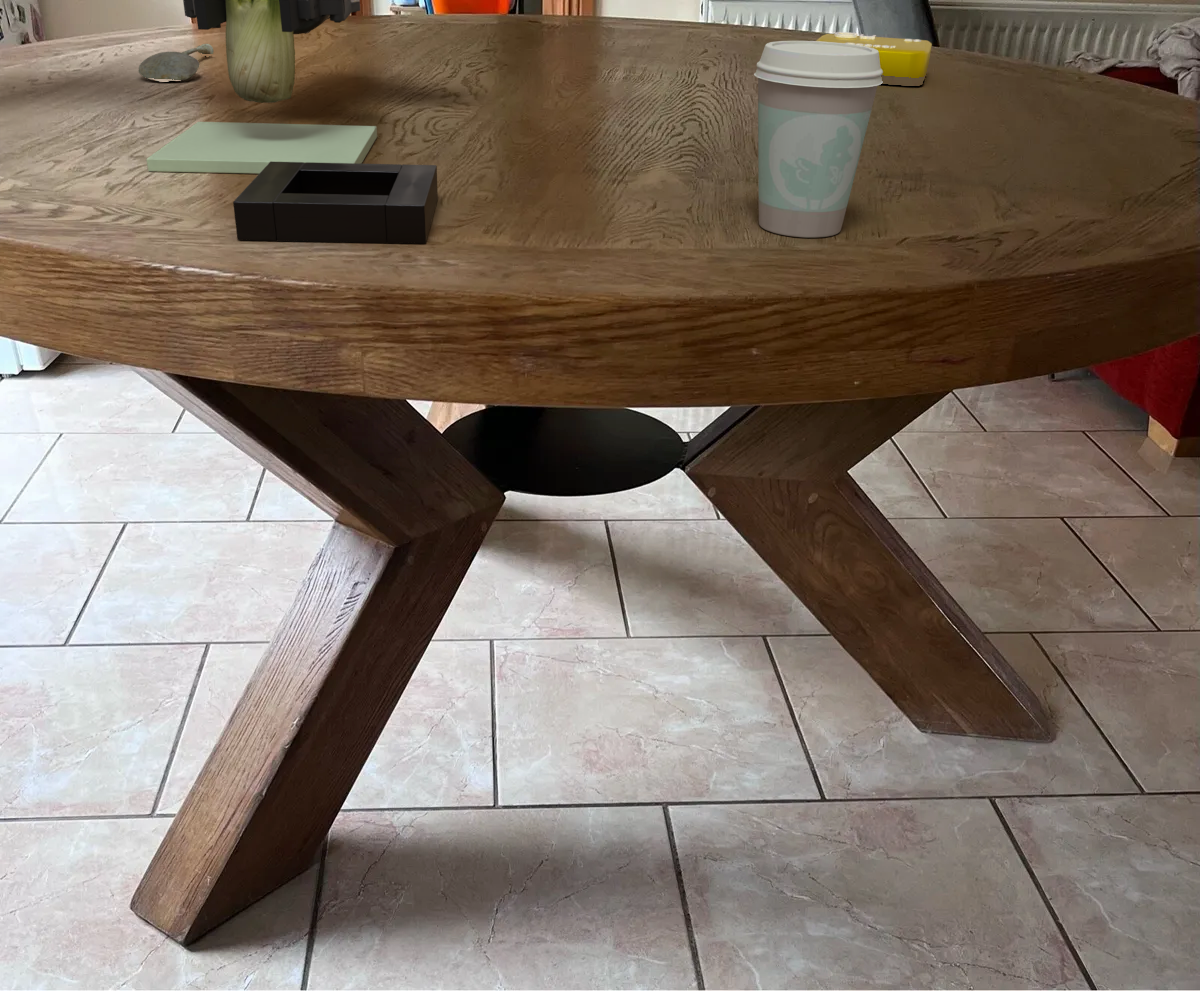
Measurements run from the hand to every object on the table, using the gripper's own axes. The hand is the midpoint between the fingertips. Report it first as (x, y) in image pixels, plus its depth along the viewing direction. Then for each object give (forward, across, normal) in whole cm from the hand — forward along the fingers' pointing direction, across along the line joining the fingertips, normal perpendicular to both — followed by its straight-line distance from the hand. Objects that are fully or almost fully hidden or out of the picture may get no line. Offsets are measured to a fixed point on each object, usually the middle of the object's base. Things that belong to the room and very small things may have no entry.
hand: (243, 11), depth 85 cm
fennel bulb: (-5, 0, -8) cm, 9 cm away
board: (-5, 0, -12) cm, 13 cm away
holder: (+16, -9, -12) cm, 22 cm away
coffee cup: (+16, -41, -12) cm, 45 cm away
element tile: (-63, -68, -12) cm, 93 cm away
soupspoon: (-52, +19, -12) cm, 57 cm away
